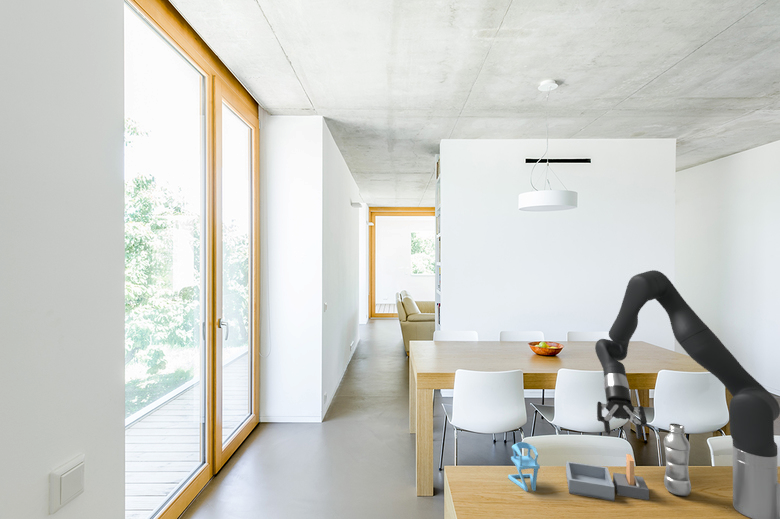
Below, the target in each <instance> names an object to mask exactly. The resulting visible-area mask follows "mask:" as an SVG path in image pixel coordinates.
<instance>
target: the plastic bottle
mask: <svg viewBox="0 0 780 519" xmlns="http://www.w3.org/2000/svg"><path fill="white" fill-rule="evenodd" d="M668 427H669V428H668V431H669V433H667V434H666V435H665V437H664V438H663V446H664V452H665V453H664V454H665V465H666V466H665V473H664V477H663V478H664V479H663V483H664V487H665V488H666V490H667V491H668V492H670V493H671V494H674V495H675V496H682V497H687V496H688V495H690V493H691V491H692V485H691V480H690V474H689V471H690V470H689V460H690V459H689V458H690V451H691V444H690V442H689V440H688V438H687V437H686V436H685V434H686V431H685V430H686V429H685V425H682V424H679V423H675V422H673V423H671V422H670V423H669V426H668Z"/></svg>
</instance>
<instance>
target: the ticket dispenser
mask: <svg viewBox="0 0 780 519" xmlns="http://www.w3.org/2000/svg"><path fill="white" fill-rule="evenodd" d="M612 482H613V485H614V490H615V491H616V494H617V496H622V497H628V498H632V499H633V498H635V499H640V500H643V501H644V500H646V501H649V500H650V489H649V487H648V486H647V483H646V481H645V480H644V477H643V476H639V475H635V474H634V486H632V485H629V484H628V482H627V479H626V474H625V473H618V472H613V473H612Z"/></svg>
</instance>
